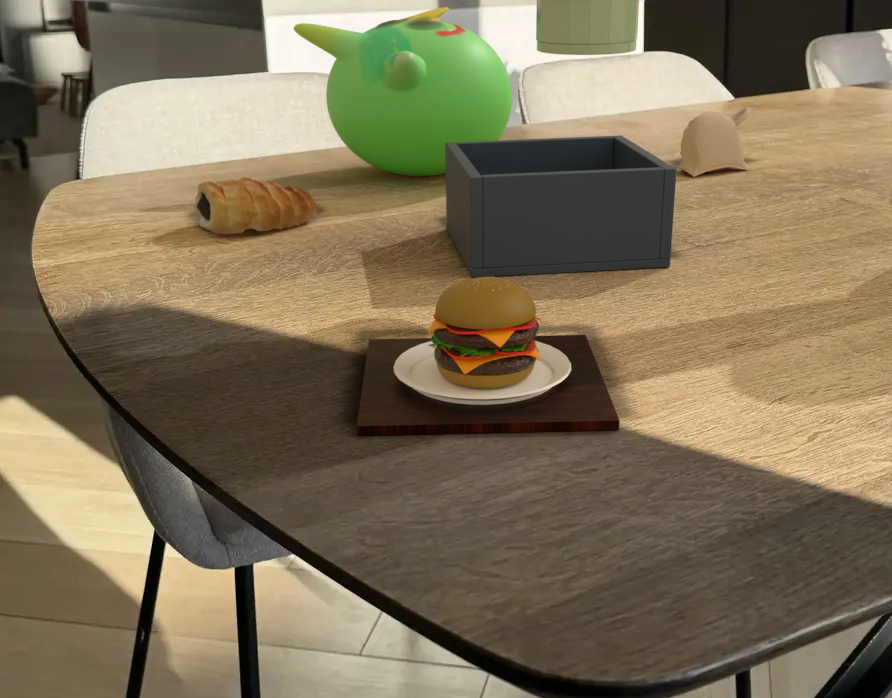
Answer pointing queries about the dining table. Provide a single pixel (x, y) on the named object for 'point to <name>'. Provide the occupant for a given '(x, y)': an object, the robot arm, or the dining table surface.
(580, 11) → the tub
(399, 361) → the hamburger
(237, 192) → the pastry
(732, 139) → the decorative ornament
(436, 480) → the dining table surface
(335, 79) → the toy bird
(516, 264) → the bin
